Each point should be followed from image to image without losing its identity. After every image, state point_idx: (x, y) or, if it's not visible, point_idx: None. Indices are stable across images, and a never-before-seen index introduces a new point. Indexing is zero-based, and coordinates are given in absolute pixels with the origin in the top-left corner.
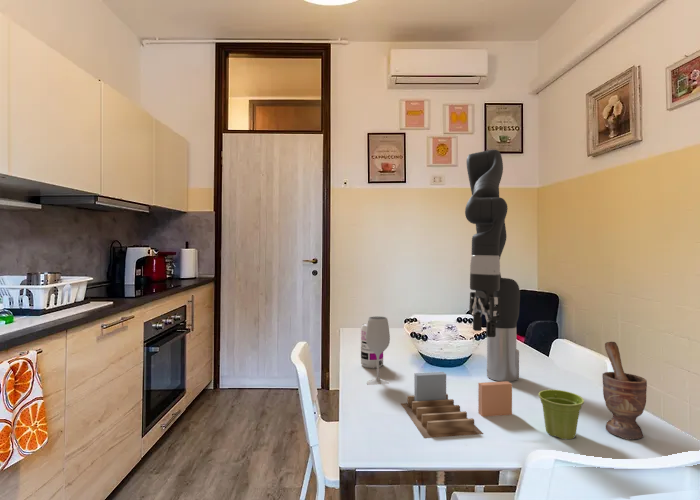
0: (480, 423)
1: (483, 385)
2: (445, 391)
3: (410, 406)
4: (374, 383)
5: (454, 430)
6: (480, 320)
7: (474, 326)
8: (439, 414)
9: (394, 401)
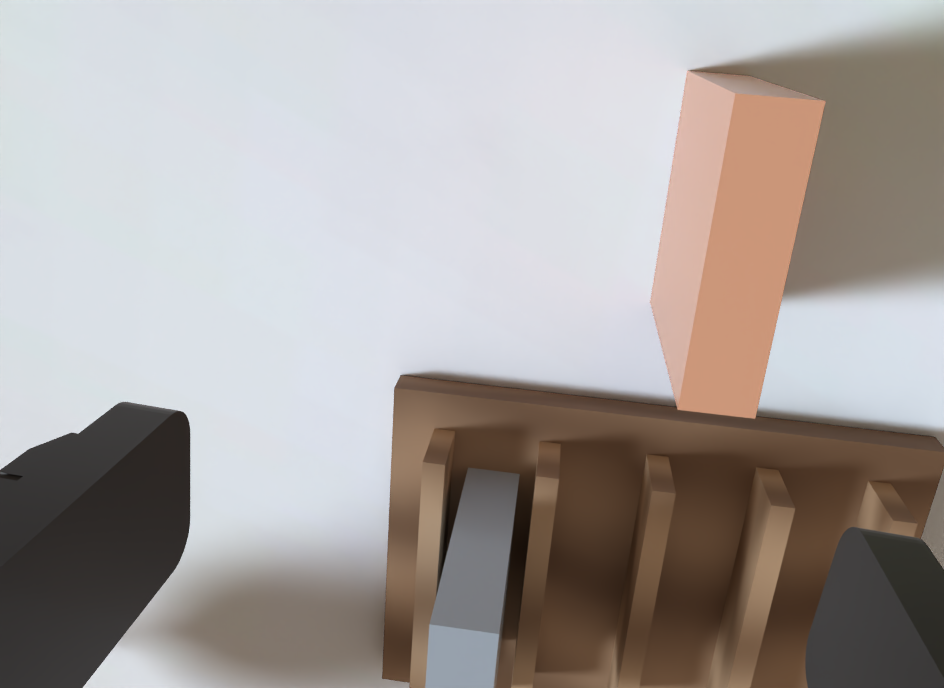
0: None
1: (756, 404)
2: (509, 546)
3: None
4: None
5: None
6: (48, 554)
7: (143, 595)
8: (754, 666)
9: (284, 650)
